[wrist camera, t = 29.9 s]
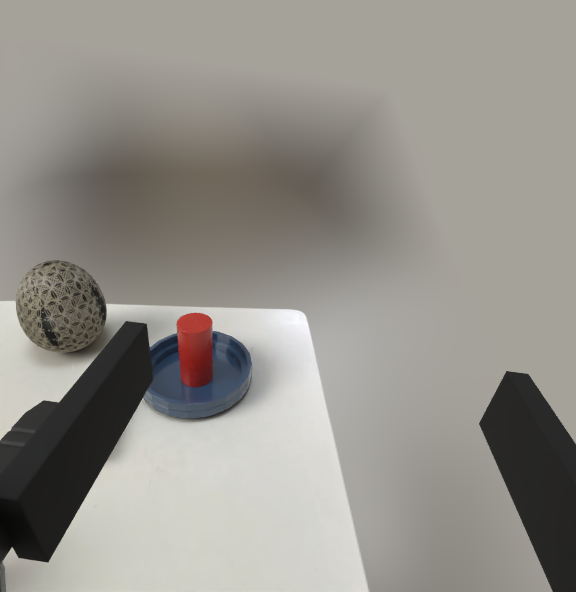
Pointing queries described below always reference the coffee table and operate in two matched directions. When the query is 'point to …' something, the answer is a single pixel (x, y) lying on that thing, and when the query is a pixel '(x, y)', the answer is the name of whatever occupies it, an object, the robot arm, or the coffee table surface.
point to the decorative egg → (60, 306)
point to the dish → (206, 399)
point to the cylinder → (195, 349)
